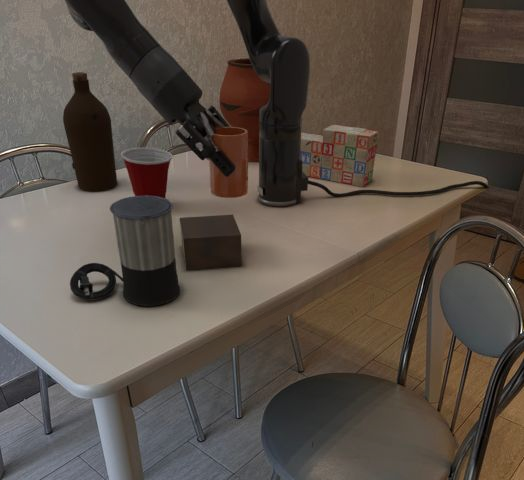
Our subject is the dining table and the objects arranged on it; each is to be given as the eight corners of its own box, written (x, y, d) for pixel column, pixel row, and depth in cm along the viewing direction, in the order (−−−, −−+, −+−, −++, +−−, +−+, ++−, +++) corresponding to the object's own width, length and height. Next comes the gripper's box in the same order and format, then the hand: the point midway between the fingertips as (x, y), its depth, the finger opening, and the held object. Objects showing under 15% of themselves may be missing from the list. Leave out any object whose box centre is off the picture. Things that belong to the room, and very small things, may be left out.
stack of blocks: (288, 173, 142) (290, 124, 135) (299, 167, 146) (301, 119, 139) (363, 187, 133) (369, 135, 126) (372, 180, 137) (379, 130, 130)
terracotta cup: (244, 185, 96) (244, 126, 90) (250, 197, 91) (250, 135, 85) (208, 186, 95) (206, 127, 89) (213, 198, 89) (210, 136, 84)
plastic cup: (167, 218, 115) (161, 161, 108) (120, 214, 116) (112, 157, 109) (183, 201, 123) (179, 147, 116) (139, 197, 125) (132, 144, 118)
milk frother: (191, 297, 86) (184, 208, 78) (97, 326, 79) (78, 231, 70) (152, 265, 96) (142, 183, 87) (65, 289, 88) (45, 201, 80)
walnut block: (233, 244, 104) (232, 214, 100) (241, 266, 96) (241, 234, 92) (182, 247, 102) (179, 217, 99) (186, 270, 94) (183, 238, 91)
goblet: (301, 157, 155) (305, 60, 141) (255, 171, 143) (255, 67, 129) (254, 145, 166) (254, 54, 151) (207, 157, 154) (203, 59, 140)
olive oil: (128, 182, 135) (113, 71, 120) (103, 194, 126) (84, 78, 112) (93, 177, 138) (74, 68, 124) (66, 189, 130) (43, 74, 115)
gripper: (163, 74, 78) (241, 163, 82) (196, 63, 89) (263, 141, 94) (133, 111, 82) (210, 194, 86) (169, 95, 93) (235, 169, 98)
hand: (237, 166), depth 90 cm, fingers closed on terracotta cup, 6 cm apart
